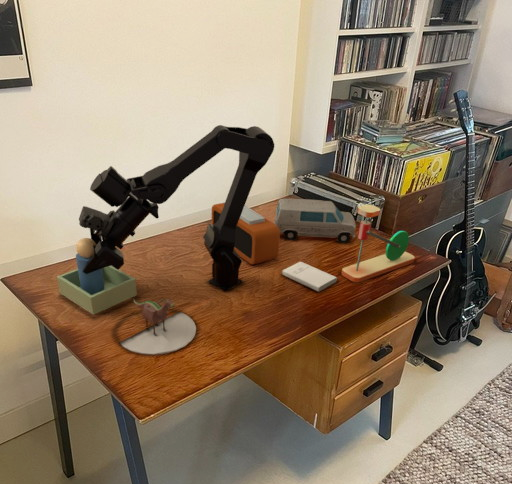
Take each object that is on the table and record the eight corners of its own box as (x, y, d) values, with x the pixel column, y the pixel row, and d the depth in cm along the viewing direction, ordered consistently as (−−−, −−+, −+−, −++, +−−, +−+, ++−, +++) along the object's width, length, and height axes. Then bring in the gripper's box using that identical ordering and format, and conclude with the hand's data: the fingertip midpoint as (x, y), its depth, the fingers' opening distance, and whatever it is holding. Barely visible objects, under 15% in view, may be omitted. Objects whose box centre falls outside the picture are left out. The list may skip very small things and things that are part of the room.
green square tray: (137, 298, 129) (135, 278, 126) (93, 318, 121) (90, 297, 118) (103, 278, 136) (101, 259, 133) (60, 296, 128) (56, 276, 125)
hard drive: (318, 292, 136) (281, 275, 143) (336, 282, 141) (300, 265, 148) (318, 287, 135) (282, 269, 142) (337, 276, 140) (301, 260, 147)
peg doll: (109, 289, 127) (102, 239, 119) (90, 297, 124) (82, 246, 116) (95, 281, 130) (88, 231, 122) (76, 288, 126) (68, 238, 119)
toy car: (354, 244, 161) (359, 213, 155) (274, 239, 161) (276, 208, 155) (349, 229, 170) (354, 199, 164) (273, 225, 169) (275, 195, 164)
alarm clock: (210, 234, 161) (211, 198, 155) (234, 229, 165) (235, 194, 159) (253, 267, 145) (256, 229, 139) (278, 261, 149) (281, 223, 143)
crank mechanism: (355, 283, 141) (368, 215, 130) (338, 273, 145) (349, 206, 134) (416, 261, 154) (432, 197, 143) (399, 252, 158) (413, 190, 147)
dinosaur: (212, 333, 119) (212, 291, 112) (145, 365, 108) (141, 321, 102) (164, 300, 129) (162, 261, 122) (99, 327, 118) (93, 285, 112)
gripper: (94, 181, 122) (52, 230, 125) (102, 212, 107) (54, 266, 111) (132, 211, 128) (91, 256, 132) (143, 244, 114) (97, 293, 118)
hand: (83, 266), depth 123 cm, fingers closed on peg doll, 5 cm apart
